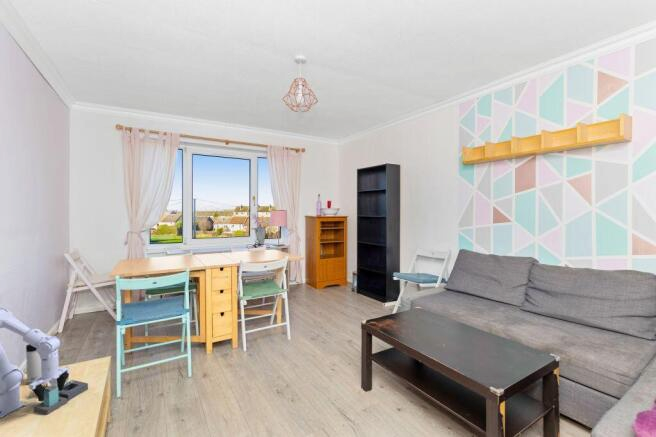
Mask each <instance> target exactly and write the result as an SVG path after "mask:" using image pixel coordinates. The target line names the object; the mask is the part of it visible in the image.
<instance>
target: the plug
mask: <svg viewBox="0 0 656 437" xmlns="http://www.w3.org/2000/svg"><path fill="white" fill-rule="evenodd" d="M42 402H43V406H46V407H50V406H52V405H54V404H55V403H57V402H59V398H58V388H57V387H56V386H54V385H51V386H46V387H45V391H44V401H42Z"/></svg>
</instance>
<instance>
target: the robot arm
mask: <svg viewBox="0 0 656 437" xmlns="http://www.w3.org/2000/svg"><path fill="white" fill-rule="evenodd" d="M2 328H5V329H7V330H9V331H11V332H13V333H15V334H17V335H19V336H21V337H22V341H24V342H26V343H27V345H29V344H30V345H32V346H34V347H35V348H37V349H36V351H37V353H38V354H39V355H40V358H41V377H40V378H39V379H38V380H36V381H35V382H33V383H31V384H28V385H29V386H28V387H29V390H31V391H32V392H33V393H34V394H35V396H36V397H37V401H38V402H40V403H41V402H43V401H44V391H45V388H46V386H43V384H45V383H47V381H50V380H52V379H57V388H58V390H59V391H62V390H63V388H64V384H65V382H66V379H67V378H68V376H69V377H70V373H69V372H70V367H69V366H64V367H62V368H60V367H59V366H60V365H59V363H60V362H59V348H60V347H61V345H62V339H61V338H59V337H58V336H56V335H53V336H52V335H49V334H46V333H45V332H43V331H42V330H41V329H39V328H30V327H28V326H27V325H25V323H23V322H21V321H20V320H18V319H17V318H16V317H15V316H14V315H13V312H12V311H10V310H9V309H7V308H5V307H0V329H2ZM67 372H68V373H67ZM24 378H25V373H24V372H23V370H21V369H20V368H19V366H18V365H16V364H11V362H10V359H9V358H8V355H7V354H6V351H5V350H4V347H3V344H2V342H0V419H1V418H3V417H5V416H7V415H8V414H10V413H12V412H14V411H17V410H18V409H20V408H21V407H23V406H26V403H25V402H21V396H20V395H21V393H20V385H21V382H22V381H23V380H24Z"/></svg>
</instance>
